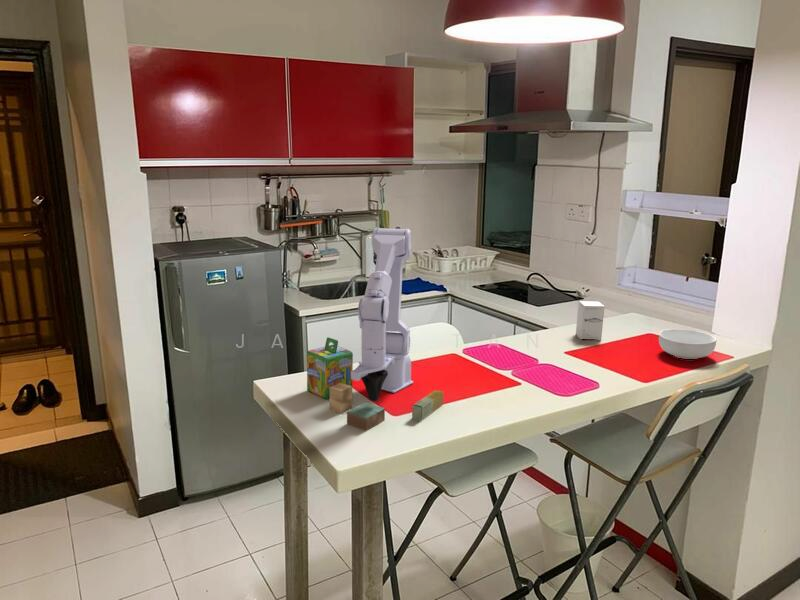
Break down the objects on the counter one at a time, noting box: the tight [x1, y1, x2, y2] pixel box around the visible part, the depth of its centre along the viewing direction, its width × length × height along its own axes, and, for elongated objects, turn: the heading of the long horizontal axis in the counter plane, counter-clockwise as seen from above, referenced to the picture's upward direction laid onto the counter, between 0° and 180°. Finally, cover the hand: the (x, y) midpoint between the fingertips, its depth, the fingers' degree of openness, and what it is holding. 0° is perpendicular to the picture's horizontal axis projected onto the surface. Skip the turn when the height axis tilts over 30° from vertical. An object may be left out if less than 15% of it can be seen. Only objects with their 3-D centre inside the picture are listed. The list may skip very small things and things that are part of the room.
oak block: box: [329, 383, 353, 414], centre depth 152 cm, size 4×4×6 cm
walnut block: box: [346, 402, 386, 432], centre depth 145 cm, size 4×6×7 cm
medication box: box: [411, 389, 444, 422], centre depth 151 cm, size 12×3×4 cm, turn 149°
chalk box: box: [306, 336, 354, 401], centre depth 162 cm, size 9×9×15 cm
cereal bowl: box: [658, 328, 717, 359], centre depth 194 cm, size 17×17×7 cm
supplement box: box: [575, 300, 606, 341], centre depth 213 cm, size 7×7×13 cm
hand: (373, 399), depth 146 cm, fingers closed
